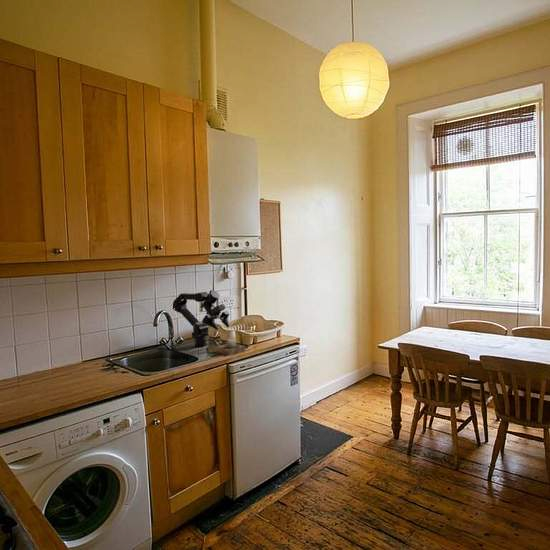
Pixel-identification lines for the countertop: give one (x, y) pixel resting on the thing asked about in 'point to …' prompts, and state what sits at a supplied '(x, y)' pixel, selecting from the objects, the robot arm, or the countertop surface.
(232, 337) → the cream leg
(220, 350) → the walnut board
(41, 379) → the countertop surface
